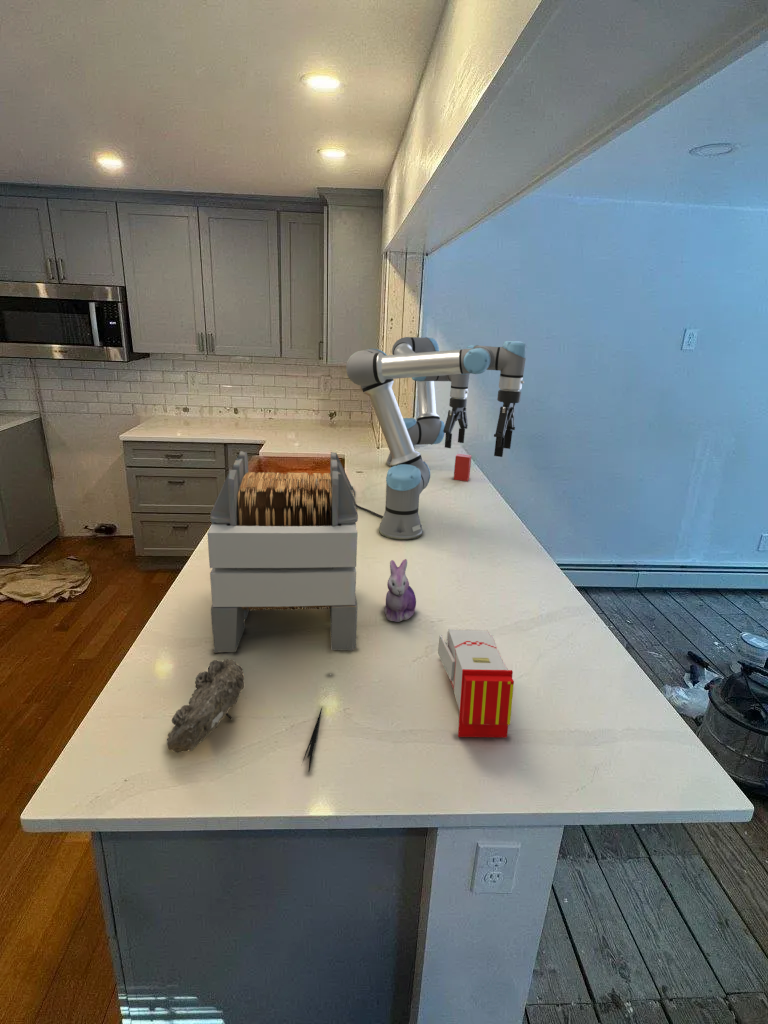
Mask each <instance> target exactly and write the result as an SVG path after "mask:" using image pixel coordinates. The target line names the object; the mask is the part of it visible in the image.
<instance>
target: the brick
mask: <svg viewBox="0 0 768 1024" xmlns="http://www.w3.org/2000/svg"><path fill="white" fill-rule="evenodd" d="M472 456H473V455H471V454H463V453H457V454H456V455H455V459H454V471H453V480H454V481H462V482H468V481H469V480H470V477H471V467H472V466H471V465H472Z"/></svg>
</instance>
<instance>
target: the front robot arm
mask: <svg viewBox="0 0 768 1024" xmlns="http://www.w3.org/2000/svg"><path fill="white" fill-rule="evenodd" d="M527 348H528V346H527V343H526V342H524V341H515V340H505V341H504V342H503V344H502V346H488V345H479V344H474V345H473V344H471V345H468V346H467V347H466V348H463V349H449V350H439V351H435V352H423V353H410V354H398V355H393V354H388V355H387V353H386V352H384V351H383V350H382V349H378V348H368V349H367V348H366V349H363V350H358V351H355V352H353V353H352V354H351V355H350V357H349V358H348V359H347V362H346V365H345V371H346V375H347V377H348V378H349V380H350V381H351V382H352V384H353V383H354V384H355V385H357V386H360V387H361V391H362V394H364V395H366V396H368V398H369V399H370V402H371V405H372V408H373V410H374V412H375V415H376V418H377V421H378V423H379V426H380V429H381V432H382V434H383V437H384V439H385V442H386V445H387V449H388V451H389V454H390V453H391V456H392V461H391V464H390V465H391V467H390V468H389V469H388V470H387V471H386V472H387V473H386V476H385V483H386V484H385V504H384V505H385V507H384V508H385V509H384V513H383V515H382V514H379V513H377V512H375V511H372V510H370V509H368V508H365V507H363V506H360V505H358V504H357V503H356V508H357V509H359V510H361V511H365V512H367V513H369V514H371V515H373V516H376V517H378V518H381V522H379V527H378V533H379V534H380V535H381V536H382V537H385V538H387V539H389V540H395V541H410V540H415V539H418V538H420V537H421V536H422V535H423V525H422V524H421V518H420V515H419V507H420V506H419V505H420V496H421V495H420V494H421V493H422V492H423V491H424V490H425V489H426V488H427V486H428V485H429V483H430V479H431V469H430V467H429V465H428V463H426V462H425V460H423V456H422V454H421V452H419V451H417V450H415V446H414V447H413V444H412V442H411V439H410V436H409V433H408V431H407V428H406V425H405V423H404V420H403V418H404V416H403V414H402V412H401V409H400V407H399V403H398V400H397V399H396V396H395V393H394V390H393V384H394V382H395V380H396V379H410V378H411V379H412V377H425V376H439V375H453V374H469V375H470V374H473V375H479V374H483V373H485V372H486V371H499V372H500V374H499V381H498V388H499V389H498V391H497V399H496V400H497V401H498V402H500V403H502V406H500V408H499V414H498V420H497V423H496V429H495V433H494V434H493V437H494V438H495V445H494V453H493V457H500V458H503V455H504V449H508V450H511V446H512V438H513V432H514V431H515V430H516V427H515V413H516V412H515V410H516V404H519V403H520V402H521V396H522V391H521V390H522V387H523V384H525V380H523V379H524V375H525V374H524V373H525V368H526V367H525V366H526V360H527ZM352 488H353V490H354V496H355V494H356V493H355V492H356V491H355V488H354V487H353V486H352Z"/></svg>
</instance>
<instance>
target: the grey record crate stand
mask: <svg viewBox="0 0 768 1024" xmlns="http://www.w3.org/2000/svg"><path fill="white" fill-rule="evenodd" d="M329 465H330V466H329V467H330V469H329V470H330V472H324V473H321V472H313V474H309V473H308V472H286V473H285V472H284V473H283V472H274V471H273V472H269V471H266V472H264V471H263V472H260V471H259V472H258V471H257V472H255V471H249V459H248V451H242V450H240V451H239V453H238V455H237V457H236V458H235V460H234V463H233V465H232V467H231V468H230V469H229V471H228V473H227V475H226V477H225V480H224V482H223V484H222V487H221V489H220V491H219V493H218V496H217V498H216V500H215V502H214V504H213V507H212V508H211V511H210V514H209V519H210V523H211V525H210V527H209V529H208V531H207V532H206V534H207V548H208V562H209V563H208V565H209V569H211V570H210V573H209V575H210V576H209V577H210V590H211V591H210V592H211V593H210V594H211V606H210V617H211V633H212V637H213V638H212V639H213V649H212V652H213V653H214V654H215V653H216V654H220V653H236V652H237V649H238V647H239V645H240V642H241V639H242V637H243V635H244V632H245V625H246V624H245V621H247V619H248V615H249V611H268V610H270V611H273V610H274V611H275V610H277V611H278V610H279V611H280V610H284V611H286V610H290V611H291V610H294V611H295V610H325V609H326V610H329V619H330V621H329V622H330V623H329V625H330V626H329V627H330V628H329V629H330V650H331V651H351V652H353V651H354V650H355V649H357V638H358V635H357V631H358V602H357V601H358V600H357V593H356V590H357V589H356V588H357V569H356V568H357V555H358V553H357V551H358V529H357V522H358V519H359V513H358V508H357V507H356V504H357V502H356V497H355V495H354V492H355V489H354V487H353V485H352V484H351V481H350V479H349V478H348V475H347V473H346V471H345V469H344V466H343V464H342V461H341V460H340V458H339V456H338V453H337V452H333V451H330V463H329ZM352 487H353V488H352ZM353 489H354V490H353Z"/></svg>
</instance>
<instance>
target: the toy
mask: <svg viewBox="0 0 768 1024" xmlns="http://www.w3.org/2000/svg"><path fill="white" fill-rule="evenodd" d="M446 640H447V643H446V641H445V639H444V636H443V635H442V634H439V637H438V646H437V656H438V657H439V659H440V661H441V663H442V666H443V668H444V670H445V672H446V674H447V677H448V679H449V681H450V684H451V687H452V690H453V693H454V697H455V701H456V705H457V708H458V711H459V714H458V715H459V716H458V730H457V731H458V732H457V737H458V738H508V731H509V726H510V725H511V717H512V707H513V697H514V696H513V695H514V684H515V680H514V679H513V673H514V671H513V670H512V669H508V667H507V665H506V662H505V661H504V659H503V658H502V655H501V653H500V651H499V649H498V647H497V643H496V639H495V637H494V635H493V634H491V632H490V631H489V629H467V628H466V629H465V628H463V629H461V628H460V629H459V628H448V630H447V639H446Z"/></svg>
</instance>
